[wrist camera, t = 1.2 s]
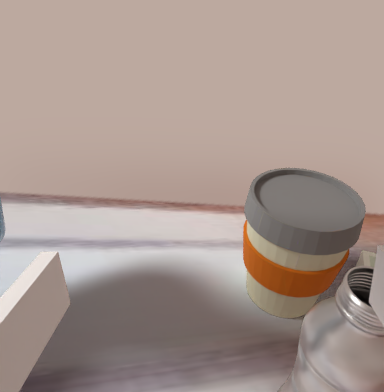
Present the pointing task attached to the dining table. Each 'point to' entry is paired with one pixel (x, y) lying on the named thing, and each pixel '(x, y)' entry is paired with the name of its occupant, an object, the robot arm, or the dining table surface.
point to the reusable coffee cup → (297, 237)
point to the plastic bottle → (341, 342)
